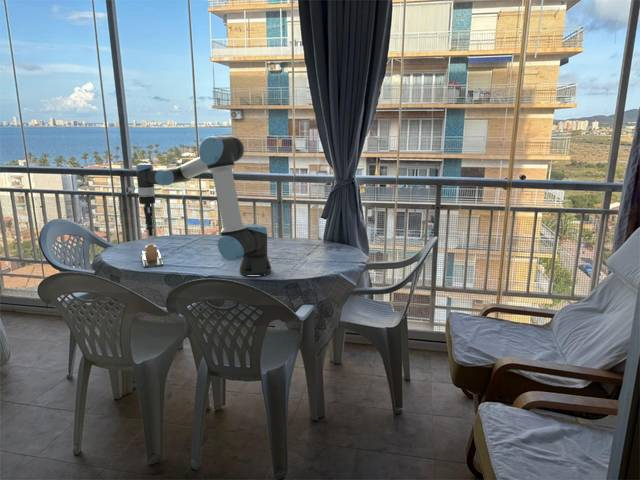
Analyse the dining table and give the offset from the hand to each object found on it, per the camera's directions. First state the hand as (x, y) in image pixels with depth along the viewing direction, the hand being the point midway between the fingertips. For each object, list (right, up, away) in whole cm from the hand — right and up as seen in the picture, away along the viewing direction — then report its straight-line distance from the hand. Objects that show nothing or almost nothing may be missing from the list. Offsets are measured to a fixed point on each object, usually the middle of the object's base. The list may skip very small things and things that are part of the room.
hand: (150, 239), depth 222 cm
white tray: (0, -11, +3) cm, 12 cm away
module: (0, -10, +3) cm, 11 cm away
